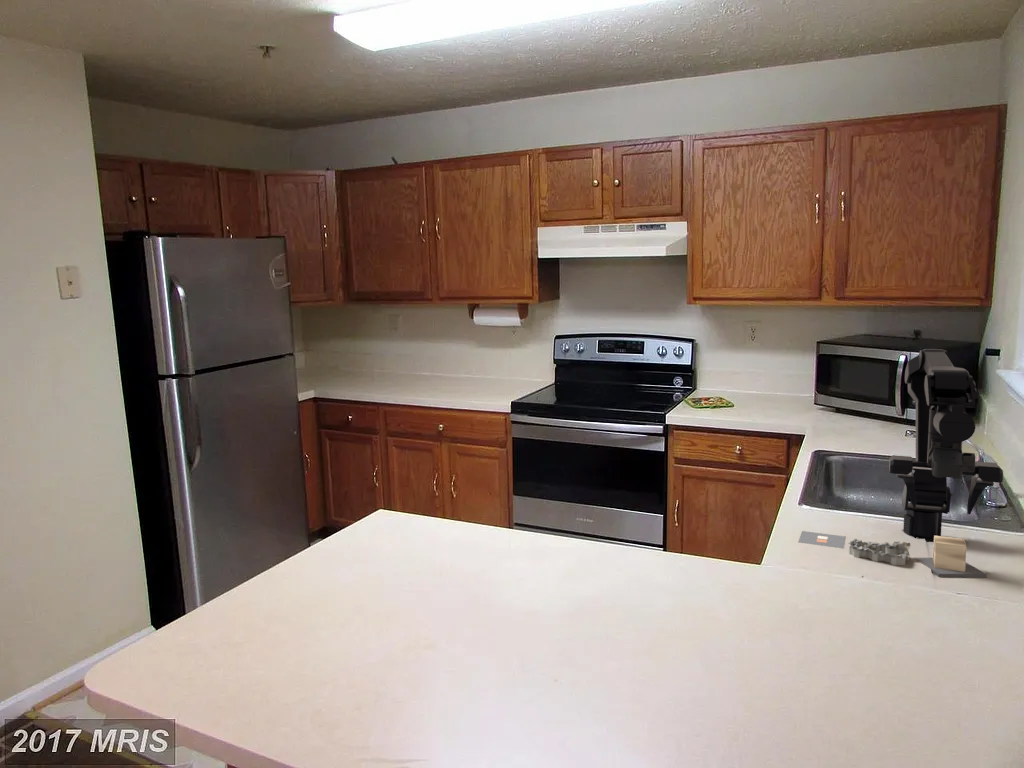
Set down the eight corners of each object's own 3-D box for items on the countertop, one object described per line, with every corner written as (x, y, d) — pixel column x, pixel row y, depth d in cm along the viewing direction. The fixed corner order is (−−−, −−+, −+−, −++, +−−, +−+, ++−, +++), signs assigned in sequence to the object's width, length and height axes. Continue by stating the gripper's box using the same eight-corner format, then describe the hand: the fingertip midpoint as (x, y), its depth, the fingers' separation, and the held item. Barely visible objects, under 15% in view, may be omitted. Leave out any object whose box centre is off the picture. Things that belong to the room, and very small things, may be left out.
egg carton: (912, 562, 141) (913, 542, 141) (901, 572, 136) (903, 552, 135) (856, 550, 149) (857, 531, 148) (844, 559, 143) (845, 539, 143)
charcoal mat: (957, 560, 141) (958, 557, 141) (986, 577, 132) (986, 574, 132) (912, 560, 142) (912, 557, 141) (938, 576, 133) (938, 573, 133)
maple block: (932, 559, 140) (934, 535, 140) (962, 563, 138) (963, 539, 137) (934, 567, 136) (935, 542, 135) (964, 571, 133) (966, 546, 133)
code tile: (802, 533, 159) (802, 530, 159) (845, 539, 155) (845, 536, 155) (797, 544, 152) (798, 542, 151) (843, 551, 147) (843, 548, 147)
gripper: (892, 436, 134) (888, 515, 135) (1010, 444, 125) (1005, 528, 127) (890, 427, 144) (887, 501, 145) (1000, 434, 135) (995, 512, 137)
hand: (941, 511), depth 138 cm, fingers open, 9 cm apart
